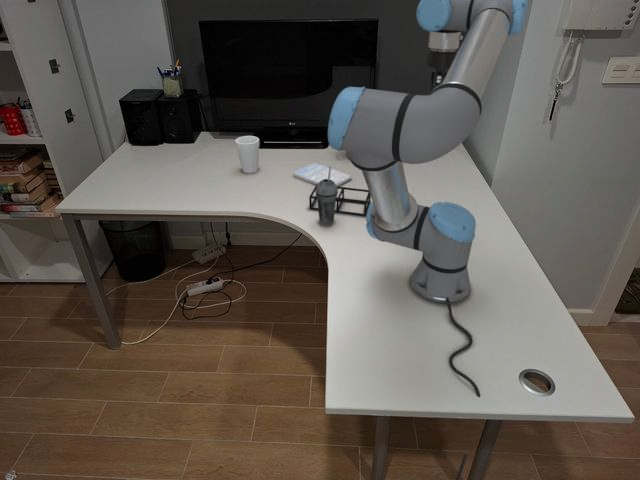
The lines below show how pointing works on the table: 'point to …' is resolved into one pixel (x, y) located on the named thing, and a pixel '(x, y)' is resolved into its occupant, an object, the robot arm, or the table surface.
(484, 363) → the table surface
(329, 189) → the beverage cup
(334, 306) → the table surface
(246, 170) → the foam cup
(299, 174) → the calculator
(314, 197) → the rack
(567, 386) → the table surface
